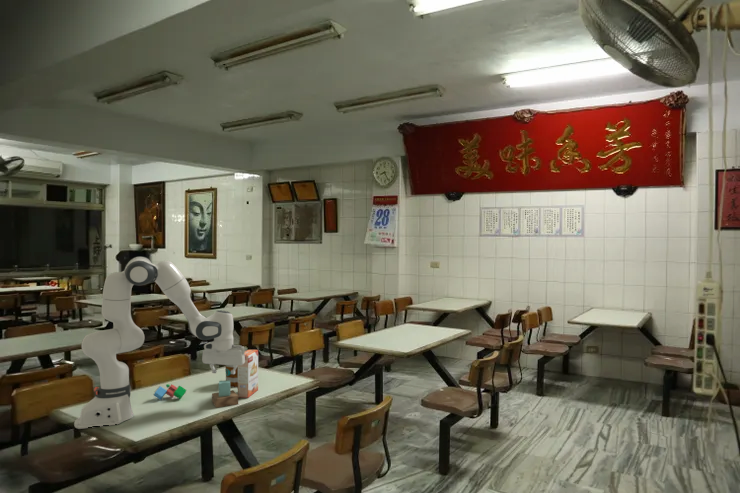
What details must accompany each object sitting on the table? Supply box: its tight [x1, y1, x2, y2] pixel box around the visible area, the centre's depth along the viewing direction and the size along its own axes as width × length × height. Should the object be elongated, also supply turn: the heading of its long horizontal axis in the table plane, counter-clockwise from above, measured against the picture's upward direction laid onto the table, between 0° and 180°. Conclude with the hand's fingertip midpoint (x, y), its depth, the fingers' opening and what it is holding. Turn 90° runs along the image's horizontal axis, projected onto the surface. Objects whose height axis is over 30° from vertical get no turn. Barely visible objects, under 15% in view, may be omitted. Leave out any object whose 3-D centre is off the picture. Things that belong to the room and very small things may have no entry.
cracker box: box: [237, 349, 259, 399], centre depth 246 cm, size 14×6×21 cm, turn 173°
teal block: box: [218, 379, 231, 397], centre depth 232 cm, size 5×5×6 cm
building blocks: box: [153, 383, 187, 400], centre depth 239 cm, size 8×8×12 cm
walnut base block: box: [211, 389, 239, 409], centre depth 232 cm, size 10×10×4 cm
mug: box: [224, 365, 238, 388], centre depth 262 cm, size 20×14×15 cm
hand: (223, 373), depth 233 cm, fingers open, 8 cm apart
